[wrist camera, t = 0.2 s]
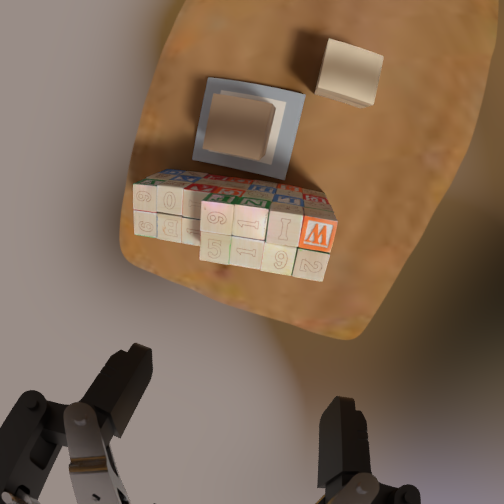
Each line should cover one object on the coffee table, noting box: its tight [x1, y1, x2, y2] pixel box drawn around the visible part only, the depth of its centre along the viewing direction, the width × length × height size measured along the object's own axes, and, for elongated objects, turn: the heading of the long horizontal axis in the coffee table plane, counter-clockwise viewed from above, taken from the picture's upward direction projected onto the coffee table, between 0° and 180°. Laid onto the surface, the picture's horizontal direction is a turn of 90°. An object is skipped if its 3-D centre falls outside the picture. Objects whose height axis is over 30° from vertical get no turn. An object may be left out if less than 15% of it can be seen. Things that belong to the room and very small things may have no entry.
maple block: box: [314, 38, 384, 108], centre depth 26 cm, size 6×6×6 cm
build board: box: [192, 77, 305, 180], centre depth 32 cm, size 11×12×1 cm
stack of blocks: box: [133, 169, 338, 282], centre depth 32 cm, size 21×6×12 cm, turn 82°
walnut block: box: [202, 93, 276, 160], centre depth 29 cm, size 6×6×6 cm
